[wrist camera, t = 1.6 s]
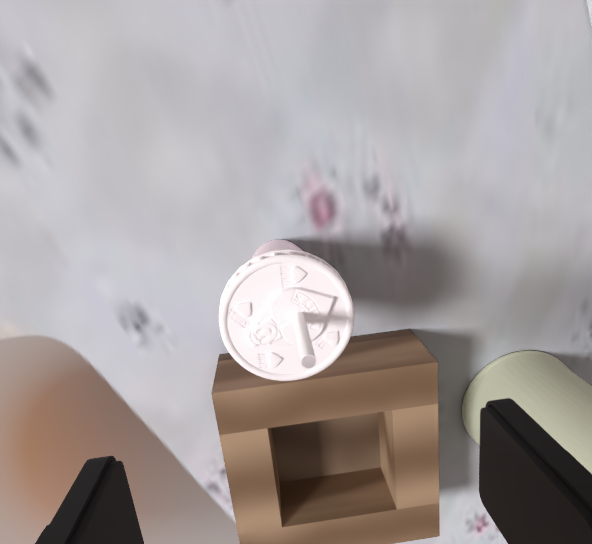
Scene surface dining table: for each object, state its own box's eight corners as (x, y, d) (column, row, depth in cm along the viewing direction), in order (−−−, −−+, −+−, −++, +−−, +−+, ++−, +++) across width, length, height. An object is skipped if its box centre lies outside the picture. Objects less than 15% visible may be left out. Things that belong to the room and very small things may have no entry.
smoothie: (340, 283, 29) (408, 397, 16) (259, 325, 29) (259, 470, 16) (299, 202, 27) (336, 251, 14) (213, 247, 28) (169, 337, 14)
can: (556, 330, 32) (724, 432, 20) (584, 421, 34) (747, 557, 23) (445, 381, 32) (548, 510, 21) (481, 467, 35) (590, 623, 23)
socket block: (219, 354, 30) (211, 393, 25) (410, 328, 31) (437, 362, 26) (246, 508, 34) (244, 567, 29) (414, 482, 35) (439, 536, 30)
